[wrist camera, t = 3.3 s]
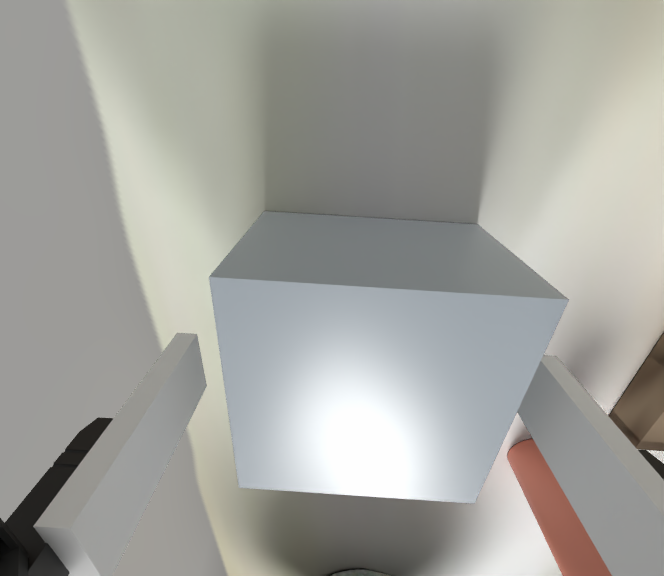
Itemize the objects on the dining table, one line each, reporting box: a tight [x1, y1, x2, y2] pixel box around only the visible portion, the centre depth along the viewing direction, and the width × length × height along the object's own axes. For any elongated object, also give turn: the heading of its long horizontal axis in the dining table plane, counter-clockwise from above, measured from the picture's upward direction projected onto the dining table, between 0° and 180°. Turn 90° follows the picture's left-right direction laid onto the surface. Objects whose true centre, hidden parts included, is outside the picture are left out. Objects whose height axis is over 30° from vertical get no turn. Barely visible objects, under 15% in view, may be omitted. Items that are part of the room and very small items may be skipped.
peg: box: [507, 439, 612, 576], centre depth 18 cm, size 3×3×10 cm
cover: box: [209, 211, 569, 504], centre depth 14 cm, size 10×10×7 cm
